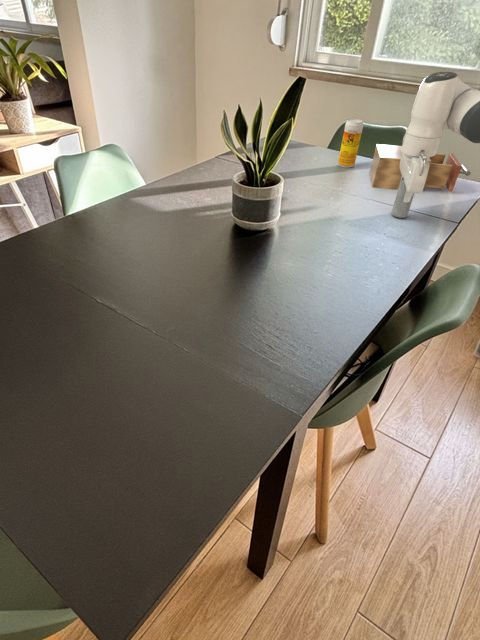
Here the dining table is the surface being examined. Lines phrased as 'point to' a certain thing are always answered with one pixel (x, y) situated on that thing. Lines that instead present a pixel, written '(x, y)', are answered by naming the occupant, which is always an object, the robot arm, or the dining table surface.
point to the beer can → (350, 143)
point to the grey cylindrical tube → (401, 202)
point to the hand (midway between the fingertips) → (404, 197)
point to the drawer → (444, 172)
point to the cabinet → (386, 167)
